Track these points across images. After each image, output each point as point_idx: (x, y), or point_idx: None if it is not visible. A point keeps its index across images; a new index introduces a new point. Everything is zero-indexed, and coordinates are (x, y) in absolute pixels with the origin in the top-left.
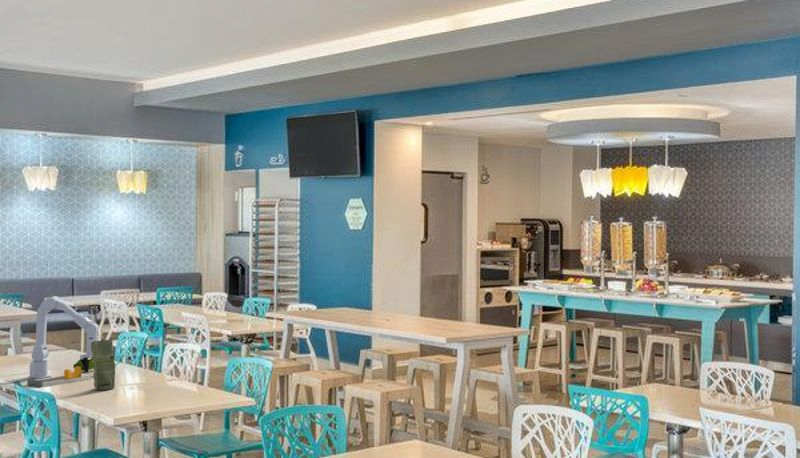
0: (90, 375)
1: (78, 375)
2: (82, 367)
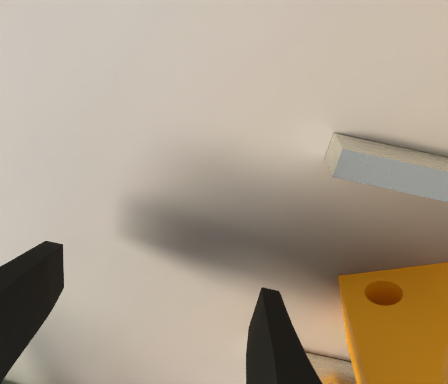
0: (340, 173)
1: (423, 300)
2: None
